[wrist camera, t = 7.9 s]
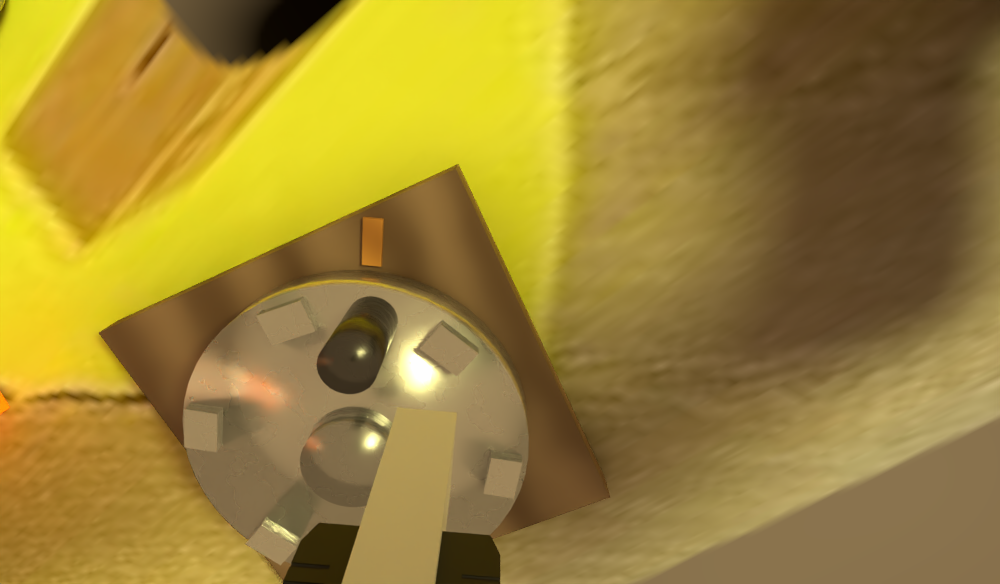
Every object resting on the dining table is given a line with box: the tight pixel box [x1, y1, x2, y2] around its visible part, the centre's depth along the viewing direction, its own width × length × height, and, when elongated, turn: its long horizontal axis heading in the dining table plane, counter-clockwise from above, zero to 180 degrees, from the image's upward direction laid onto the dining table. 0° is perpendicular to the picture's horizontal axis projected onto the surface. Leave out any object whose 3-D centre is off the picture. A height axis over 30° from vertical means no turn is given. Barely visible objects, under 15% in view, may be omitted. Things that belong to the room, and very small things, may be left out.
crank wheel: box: [183, 270, 529, 565], centre depth 36 cm, size 22×22×9 cm
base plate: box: [99, 164, 610, 580], centre depth 41 cm, size 26×26×2 cm
